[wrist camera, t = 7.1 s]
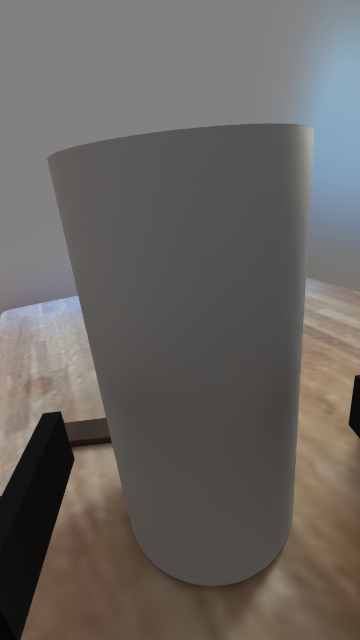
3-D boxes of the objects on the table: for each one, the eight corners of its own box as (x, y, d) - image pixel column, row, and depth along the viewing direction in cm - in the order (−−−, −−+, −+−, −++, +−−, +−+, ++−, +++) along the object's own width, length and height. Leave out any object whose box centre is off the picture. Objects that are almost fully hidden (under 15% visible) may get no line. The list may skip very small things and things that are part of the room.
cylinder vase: (247, 430, 32) (242, 154, 23) (330, 556, 21) (387, 114, 12) (124, 463, 30) (60, 170, 21) (142, 624, 19) (20, 139, 9)
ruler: (269, 404, 36) (269, 397, 36) (279, 421, 33) (279, 415, 33) (54, 429, 35) (52, 423, 35) (46, 450, 33) (43, 443, 32)
